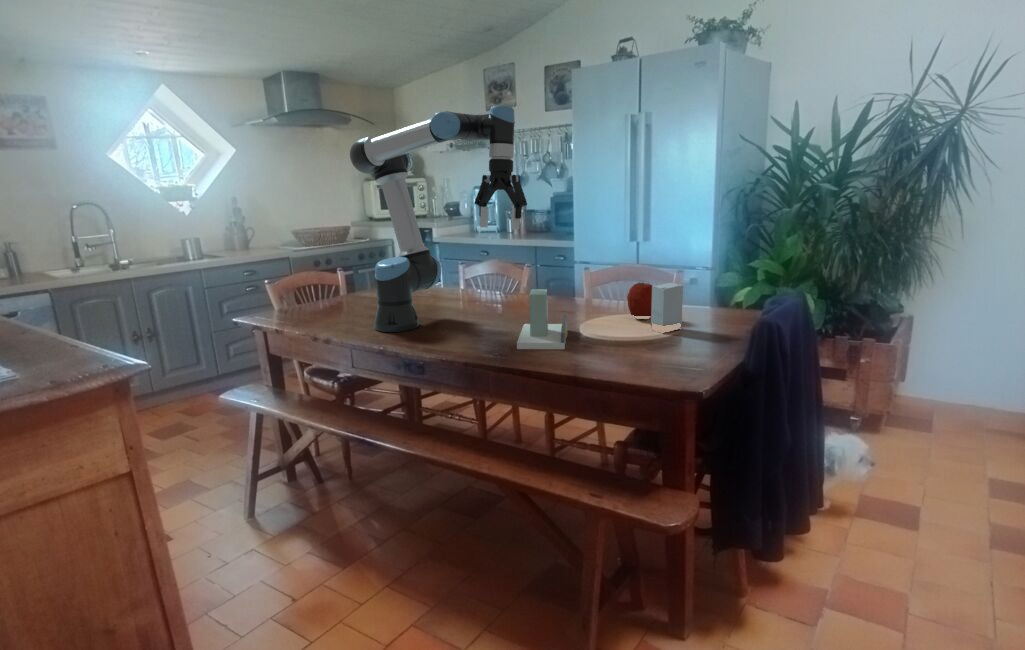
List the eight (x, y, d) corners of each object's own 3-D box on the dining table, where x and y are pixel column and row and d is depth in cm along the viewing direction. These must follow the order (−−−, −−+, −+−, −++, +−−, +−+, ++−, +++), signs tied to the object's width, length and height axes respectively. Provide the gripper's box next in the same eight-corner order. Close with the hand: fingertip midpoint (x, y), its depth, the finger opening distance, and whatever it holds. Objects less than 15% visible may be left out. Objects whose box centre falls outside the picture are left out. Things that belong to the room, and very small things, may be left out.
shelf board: (516, 349, 175) (516, 332, 174) (524, 329, 196) (523, 315, 195) (566, 349, 173) (566, 332, 172) (568, 329, 194) (568, 315, 193)
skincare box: (669, 326, 194) (670, 281, 191) (682, 330, 189) (684, 284, 186) (649, 330, 191) (650, 285, 187) (662, 334, 185) (664, 287, 182)
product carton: (530, 336, 181) (529, 294, 177) (532, 329, 188) (531, 289, 185) (547, 336, 180) (546, 294, 177) (548, 329, 188) (547, 289, 185)
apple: (626, 322, 201) (626, 282, 198) (627, 315, 210) (628, 277, 207) (657, 323, 199) (658, 282, 195) (657, 316, 208) (658, 277, 204)
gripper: (540, 158, 178) (537, 230, 182) (481, 160, 194) (479, 226, 198) (524, 156, 172) (521, 230, 177) (464, 159, 188) (463, 226, 193)
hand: (499, 228), depth 187 cm, fingers open, 13 cm apart
